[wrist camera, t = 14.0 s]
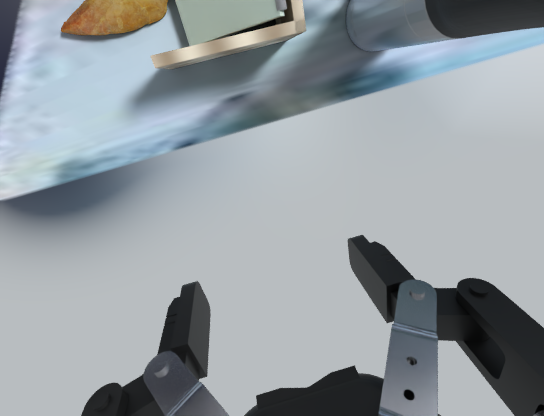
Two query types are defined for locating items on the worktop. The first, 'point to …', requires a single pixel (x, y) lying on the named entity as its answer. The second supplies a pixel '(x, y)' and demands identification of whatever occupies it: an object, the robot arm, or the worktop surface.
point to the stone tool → (113, 16)
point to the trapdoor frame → (237, 40)
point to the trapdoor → (225, 16)
